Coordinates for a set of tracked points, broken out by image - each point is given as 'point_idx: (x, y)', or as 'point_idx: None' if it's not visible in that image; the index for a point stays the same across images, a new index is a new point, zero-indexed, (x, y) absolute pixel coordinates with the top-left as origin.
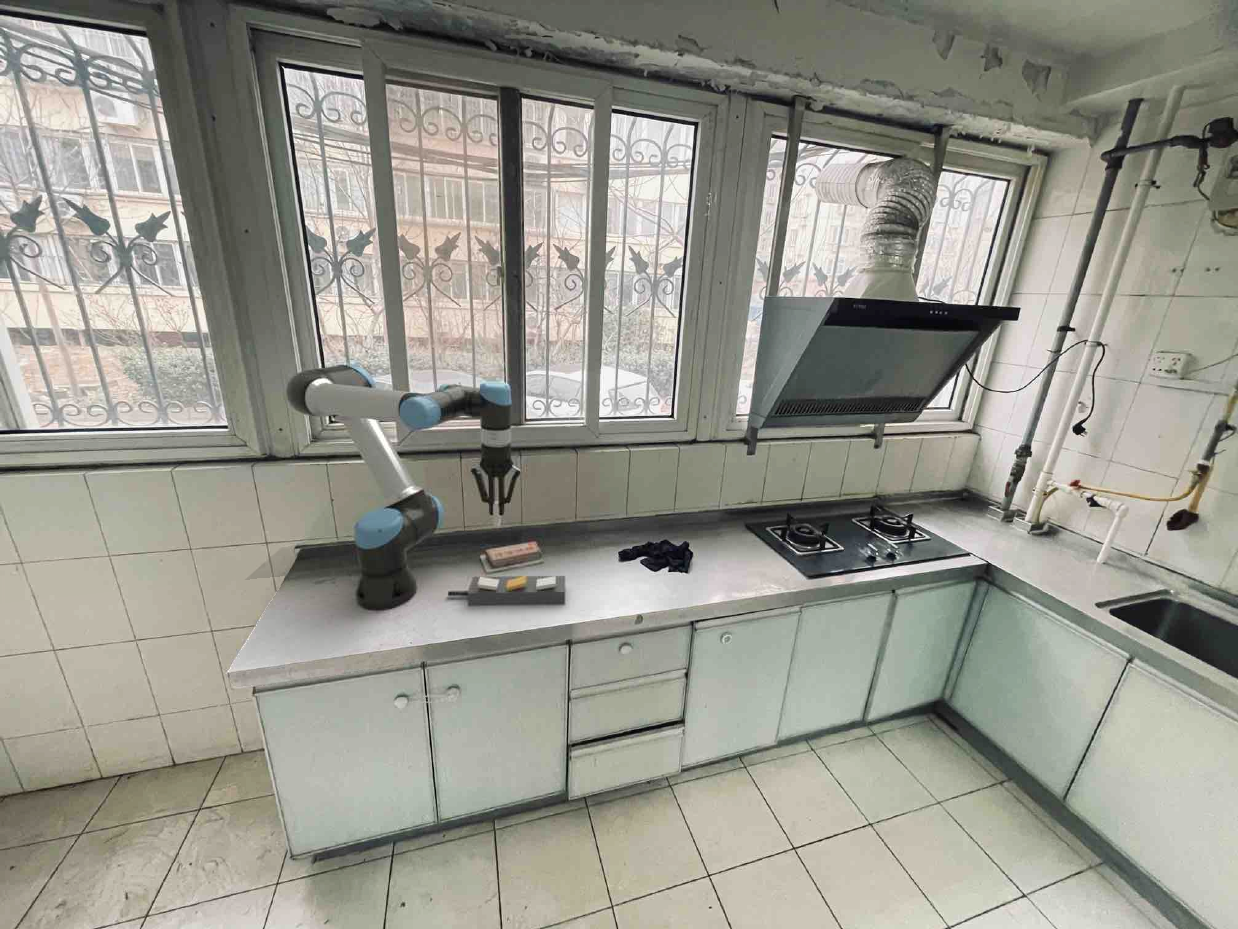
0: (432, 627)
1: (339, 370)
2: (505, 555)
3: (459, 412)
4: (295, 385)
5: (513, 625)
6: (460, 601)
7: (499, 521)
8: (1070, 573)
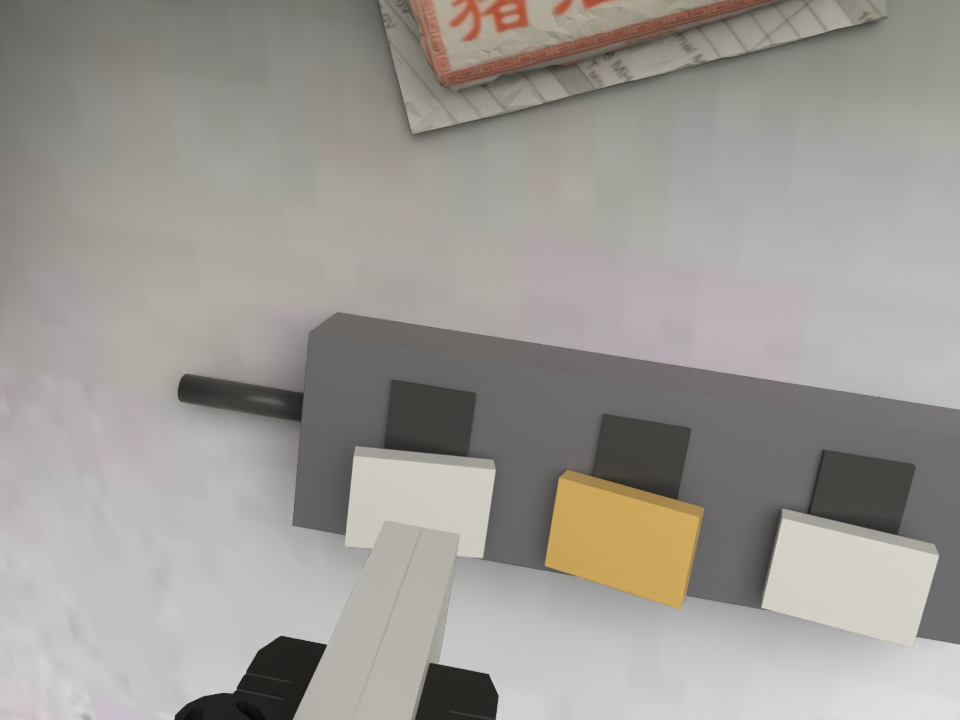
0: (160, 634)
1: None
2: (555, 19)
3: None
4: None
5: (582, 710)
6: (271, 434)
7: (436, 652)
8: None
